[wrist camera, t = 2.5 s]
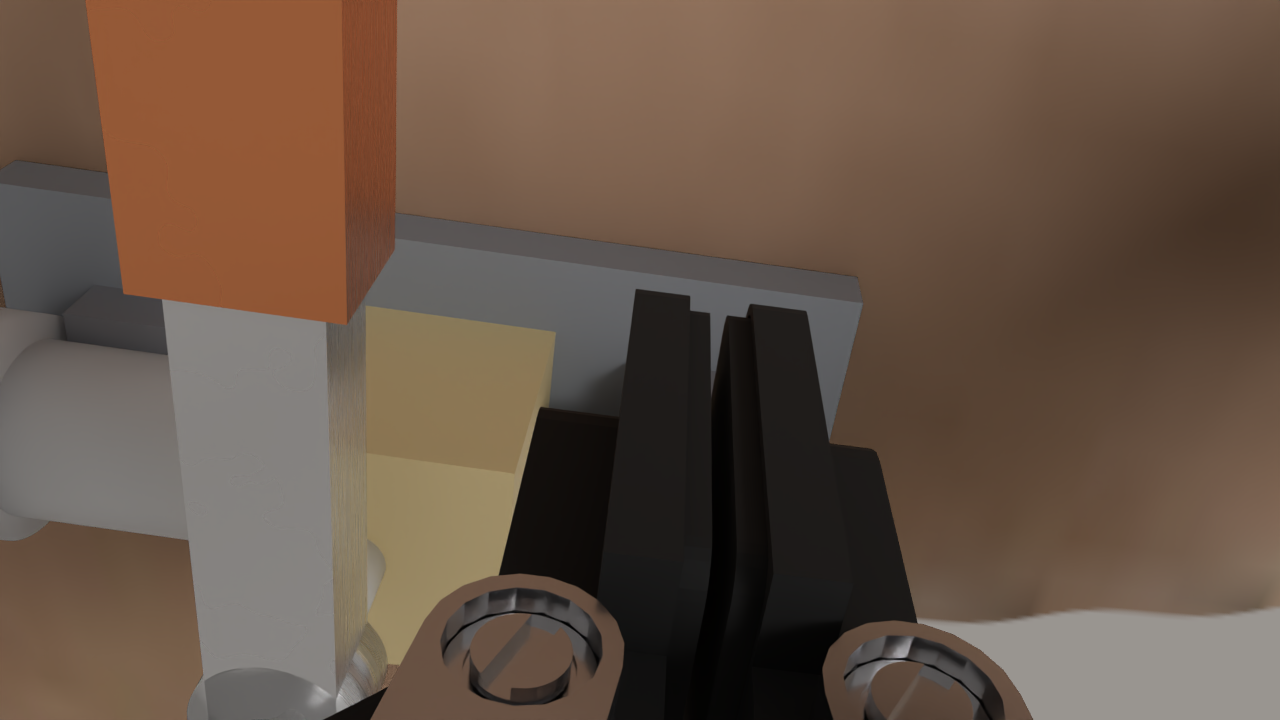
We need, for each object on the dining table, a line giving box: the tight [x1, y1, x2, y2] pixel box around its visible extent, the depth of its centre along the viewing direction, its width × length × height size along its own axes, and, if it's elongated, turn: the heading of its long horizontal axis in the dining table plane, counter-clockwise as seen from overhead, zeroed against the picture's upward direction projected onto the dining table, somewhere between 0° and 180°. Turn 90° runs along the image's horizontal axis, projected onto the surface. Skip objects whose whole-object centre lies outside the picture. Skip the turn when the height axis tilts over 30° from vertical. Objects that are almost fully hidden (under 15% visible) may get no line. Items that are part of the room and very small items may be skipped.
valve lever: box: [85, 0, 397, 720], centre depth 18 cm, size 3×18×3 cm, turn 173°
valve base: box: [0, 160, 863, 665], centre depth 27 cm, size 22×10×10 cm, turn 83°
